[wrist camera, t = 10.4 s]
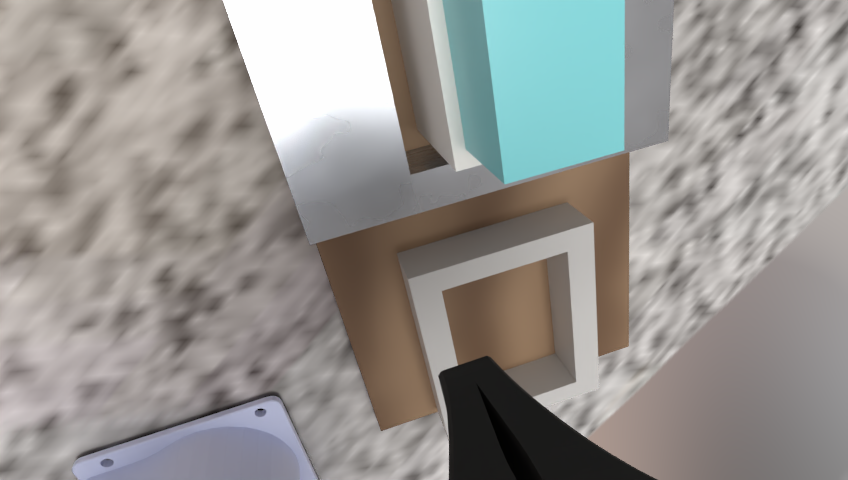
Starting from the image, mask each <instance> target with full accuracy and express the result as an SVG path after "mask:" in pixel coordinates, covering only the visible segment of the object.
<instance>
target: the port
mask: <svg viewBox="0 0 848 480" xmlns="http://www.w3.org/2000/svg"><path fill="white" fill-rule="evenodd" d="M223 2H224V5H225V7H226V10H227V13H228V16H229V19H230V22H231V24H232V27H233V30H234V33H235V36H236V38H237V41H238V44H239V47H240V50H241V53H242V55H243V58H244V61H245V64H246V67H247V69H248V72H249V75H250V78H251V81H252V84H253V86H254V89H255V92H256V95H257V98H258V100H259V103H260V106H261V109H262V112H263V115H264V117H265V120H266V123H267V126H268V129H269V131H270V134H271V137H272V140H273V143H274V146H275V148H276V151H277V154H278V157H279V160H280V162H281V165H282V168H283V171H284V174H285V177H286V179H287V182H288V185H289V188H290V191H291V193H292V196H293V199H294V202H295V205H296V208H297V210H298V213H299V216H300V219H301V222H302V224H303V227H304V230H305V233H306V236H307V239H308V241H309V244H310V245H312V244H315V243H319V242H322V241H325V240H329V239H332V238H336V237H339V236H343V235H346V234H349V233H353V232H356V231H360V230H363V229H367V228H370V227H374V226H377V225H380V224H384V223H387V222H391V221H394V220H398V219H401V218H404V217H408V216H411V215H415V214H418V213H422V212H425V211H429V210H432V209H435V208H439V207H442V206H446V205H449V204H453V203H456V202H459V201H463V200H466V199H470V198H473V197H477V196H480V195H484V194H487V193H490V192H494V191H497V190H501V189H504V188H508V187H511V186H514V185H518V184H521V183H525V182H528V181H532V180H535V179H538V178H542V177H545V176H549V175H552V174H556V173H559V172H563V171H566V170H569V169H573V168H576V167H580V166H583V165H587V164H590V163H593V162H597V161H600V160H604V159H607V158H611V157H614V156H618V155H621V154H624V153H628V152H631V151H635V150H638V149H642V148H645V147H648V146H652V145H655V144H659V143H662V142H666V141H668V130H669V106H670V83H671V59H672V36H673V12H674V0H625V87H624V151H620V152H617V153H613V154H610V155H606V156H603V157H599V158H596V159H592V160H589V161H585V162H582V163H578V164H575V165H571V166H568V167H564V168H561V169H557V170H554V171H550V172H547V173H543V174H540V175H536V176H533V177H529V178H526V179H522V180H519V181H515V182H512V183H508V184H503V183H502V182H501V181H500V180H499V179H498V178H497V177H496V176H495V175H494V174H492V173H491V172H490V171H489V170H488V169H487V168H486V167H485V166H484V165H483V164H482V165H479V166H475V167H472V168H468V169H464V170H461V171H457V172H456V171H455V170H454V169H453V168H452V167H451V166H450V165H449V164H448V162H447V161H446V160H445V159H444V158H443V157H442V156H441V155H440V154H439V153H438V152H437V151H436V149H435V148H434V147H433V146H432V145H431V144H430V145H427V146H423V147H419V148H416V149H412V150H409V151H405V149H404V144H403V140H402V135H401V131H400V126H399V122H398V117H397V113H396V108H395V104H394V99H393V95H392V91H391V86H390V82H389V77H388V73H387V68H386V64H385V59H384V55H383V50H382V46H381V42H380V37H379V33H378V28H377V24H376V19H375V15H374V10H373V6H372V1H371V0H223Z"/></svg>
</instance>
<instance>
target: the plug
mask: <svg viewBox="0 0 848 480" xmlns="http://www.w3.org/2000/svg"><path fill="white" fill-rule="evenodd" d="M391 2H392V7H393V12H394V17H395V22H396V27H397V32H398V36H399V41H400V46H401V51H402V56H403V61H404V66H405V71H406V76H407V81H408V86H409V91H410V96H411V101H412V106H413V111H414V115H415V120H416V125H417V130H418V131H419V132H420V133H421V134H422V135H423V136H424V138H425V139H426V140H427V141H428V142H429V143H430V144H431V145H432V146H433V147H434V148H435V149H436V151H437V152H438V153H439V154H440V155H441V156H442V157H443V158H444V159H445V160H446V161H447V162H448V164H449V165H450V166H451V167H452V168H453V169H454V170H455V171H456V172H457V171H461V170H464V169H468V168H472V167H475V166H479V165H482V164H483V165H484V166H485V167H486V168H487V169H488V170H489V171H490V172H491V173H492V174H494V175H495V176H496V177H497V178H498V179H499V180H500V181H501V182H502V183H503V184H508V183H512V182H515V181H519V180H522V179H526V178H529V177H533V176H536V175H540V174H543V173H547V172H550V171H554V170H557V169H561V168H564V167H568V166H571V165H575V164H578V163H582V162H585V161H589V160H592V159H596V158H599V157H603V156H606V155H610V154H613V153H617V152H620V151H624V87H625V0H391Z"/></svg>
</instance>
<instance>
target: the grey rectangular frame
mask: <svg viewBox="0 0 848 480" xmlns="http://www.w3.org/2000/svg"><path fill="white" fill-rule="evenodd" d="M397 256H398V260H399V264H400V268H401V271H402V275H403V279H404V283H405V287H406V291H407V295H408V298H409V302H410V306H411V310H412V314H413V318H414V322H415V325H416V329H417V333H418V337H419V341H420V345H421V349H422V352H423V356H424V360H425V364H426V368H427V372H428V376H429V379H430V383H431V387H432V391H433V395H434V399H435V402H436V406H437V410H438V412H439V415H440V418H441V421H442V423H443V426H444V429H445V432H446V434H447V437H448V440H449V433H448V419H447V410H446V405H445V401H444V397H443V393H442V389H441V385H440V381H439V377H438V375H439V374H440V372H441V371H443V370H446V369H449V368H452V367H455V366H458V364H457V359H456V354H455V350H454V345H453V341H452V336H451V331H450V327H449V322H448V318H447V313H446V308H445V304H444V299H443V295H442V291H443V290H447V289H450V288H453V287H456V286H459V285H463V284H466V283H469V282H472V281H475V280H479V279H482V278H485V277H488V276H491V275H495V274H498V273H501V272H504V271H507V270H511V269H514V268H517V267H520V266H523V265H527V264H530V263H533V262H536V261H539V260H543V259H546V258H547V268H548V279H549V290H550V301H551V312H552V323H553V334H554V345H555V354H552V355H549V356H546V357H543V358H540V359H537V360H534V361H531V362H528V363H525V364H522V365H519V366H516V367H513V368H510V369H507V370H504V371H505V372H506V373H507V374H508V375H509V376H510V377H511V378H512V379H513V380H514V381H515V382H516V383H517V384H518V385H519V386H520V387H522V388H523V389H524V390H525V391H526V392H527V393H528V394H530V395H531V396H532V397H533V398H534V399H536V400H537V401H538V402H539V403H540V404H542V405H543V406H544V407H545V408H546V407H549V406H552V405H555V404H557V403H560V402H563V401H566V400H569V399H572V398H574V397H577V396H580V395H583V394H586V393H589V392H592V391H594V390H597V389H599V364H598V336H597V308H596V280H595V251H594V223H593V222H592V221H591V220H590V219H588V218H587V217H586V216H584V215H583V214H582V213H581V212H579V211H578V210H577V209H575V208H574V207H573V206H571V205H570V204H569V203H568V202H566V203H563V204H560V205H556V206H553V207H550V208H546V209H543V210H540V211H536V212H533V213H530V214H526V215H523V216H520V217H516V218H513V219H510V220H506V221H503V222H500V223H496V224H493V225H490V226H486V227H483V228H480V229H476V230H473V231H469V232H466V233H463V234H459V235H456V236H453V237H449V238H446V239H443V240H439V241H436V242H433V243H429V244H426V245H423V246H419V247H416V248H413V249H409V250H406V251H403V252H399V253H397Z"/></svg>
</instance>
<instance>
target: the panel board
mask: <svg viewBox="0 0 848 480" xmlns="http://www.w3.org/2000/svg"><path fill="white" fill-rule="evenodd" d="M371 1H372V6H373V10H374V15H375V19H376V24H377V28H378V33H379V37H380V42H381V46H382V50H383V55H384V59H385V64H386V68H387V73H388V77H389V82H390V86H391V91H392V95H393V99H394V104H395V108H396V113H397V117H398V122H399V126H400V131H401V135H402V140H403V144H404V149H405V151H409V150H412V149H416V148H419V147H423V146H427V145H430V143H429V142H428V141H427V140H426V139H425V138H424V136H423V135H422V134H421V133H420V132H419V131H418V130H417V125H416V120H415V115H414V111H413V106H412V101H411V96H410V91H409V86H408V81H407V76H406V71H405V66H404V61H403V56H402V51H401V46H400V41H399V36H398V32H397V27H396V22H395V17H394V12H393V7H392V2H391V0H371ZM566 202H568V203H569V204H570V205H571V206H573V207H574V208H575V209H577V210H578V211H579V212H581V213H582V214H583V215H584V216H586V217H587V218H588V219H590V220H591V221H592V222H593V223H594V251H595V280H596V308H597V336H598V357H599V356H601V355H604V354H607V353H610V352H613V351H616V350H619V349H622V348H625V347H628V346H629V152H628V153H624V154H621V155H618V156H614V157H611V158H607V159H604V160H600V161H597V162H593V163H590V164H587V165H583V166H580V167H576V168H573V169H569V170H566V171H563V172H559V173H556V174H552V175H549V176H545V177H542V178H538V179H535V180H532V181H528V182H525V183H521V184H518V185H514V186H511V187H508V188H504V189H501V190H497V191H494V192H490V193H487V194H484V195H480V196H477V197H473V198H470V199H466V200H463V201H459V202H456V203H453V204H449V205H446V206H442V207H439V208H435V209H432V210H429V211H425V212H422V213H418V214H415V215H411V216H408V217H404V218H401V219H398V220H394V221H391V222H387V223H384V224H380V225H377V226H374V227H370V228H367V229H363V230H360V231H356V232H353V233H349V234H346V235H343V236H339V237H336V238H332V239H329V240H325V241H322V242H319V243H316V244H317V247H318V250H319V253H320V256H321V259H322V262H323V265H324V267H325V270H326V273H327V276H328V279H329V282H330V285H331V288H332V291H333V293H334V296H335V299H336V302H337V305H338V308H339V311H340V314H341V316H342V319H343V322H344V325H345V328H346V331H347V334H348V337H349V340H350V342H351V345H352V348H353V351H354V354H355V357H356V360H357V363H358V365H359V368H360V371H361V374H362V377H363V380H364V383H365V386H366V388H367V391H368V394H369V397H370V400H371V403H372V406H373V409H374V412H375V414H376V417H377V420H378V423H379V426H380V429H381V431H383V430H385V429H388V428H391V427H394V426H397V425H400V424H403V423H406V422H409V421H412V420H415V419H418V418H420V417H423V416H426V415H429V414H432V413H435V412H438V410H437V406H436V402H435V399H434V395H433V391H432V387H431V383H430V379H429V376H428V372H427V368H426V364H425V360H424V356H423V352H422V349H421V345H420V341H419V337H418V333H417V329H416V325H415V322H414V318H413V314H412V310H411V306H410V302H409V298H408V295H407V291H406V287H405V283H404V279H403V275H402V271H401V268H400V264H399V260H398V256H397V253H399V252H403V251H406V250H409V249H413V248H416V247H419V246H423V245H426V244H429V243H433V242H436V241H439V240H443V239H446V238H449V237H453V236H456V235H459V234H463V233H466V232H469V231H473V230H476V229H480V228H483V227H486V226H490V225H493V224H496V223H500V222H503V221H506V220H510V219H513V218H516V217H520V216H523V215H526V214H530V213H533V212H536V211H540V210H543V209H546V208H550V207H553V206H556V205H560V204H563V203H566ZM442 295H443V299H444V304H445V308H446V313H447V318H448V322H449V327H450V331H451V336H452V341H453V345H454V350H455V354H456V359H457V364H458V365H461V364H463V363H466V362H469V361H472V360H475V359H478V358H481V357H484V356H489V357H491V358H492V359H493V360H494V361H495V362H496V363H497V364H498V365H499V366H500V367H501V368H502V369H503V370H507V369H510V368H513V367H516V366H519V365H522V364H525V363H528V362H531V361H534V360H537V359H540V358H543V357H546V356H549V355H552V354H555V345H554V334H553V323H552V312H551V301H550V290H549V279H548V268H547V258H546V259H543V260H539V261H536V262H533V263H530V264H527V265H523V266H520V267H517V268H514V269H511V270H507V271H504V272H501V273H498V274H495V275H491V276H488V277H485V278H482V279H479V280H475V281H472V282H469V283H466V284H463V285H459V286H456V287H453V288H450V289H447V290H443V291H442Z"/></svg>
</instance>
